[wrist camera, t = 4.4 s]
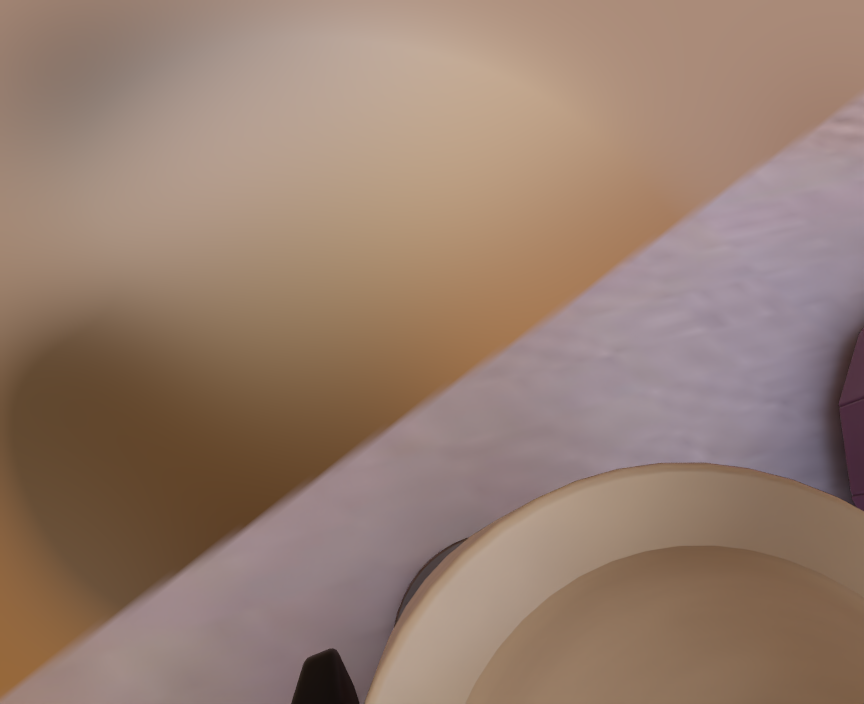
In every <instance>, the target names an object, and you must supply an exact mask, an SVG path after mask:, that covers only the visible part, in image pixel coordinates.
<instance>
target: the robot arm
mask: <svg viewBox="0 0 864 704" xmlns="http://www.w3.org/2000/svg"><path fill="white" fill-rule="evenodd" d="M291 704H359V701H358V697H357V694H356V691H355V688H354V685H353V683H352V681H351V679H350V677H349V674H348V672H347V670H346V668H345V666H344V664H343V662H342V659H341V657H340V655H339V653H338V652H337V650H335V649H333V648H332V649H328V650H325V651H323V652H320V653H318V654H315V655H313V656H310V657H309V658H307V659H306V661H305V662H304V664H303V667H302V670H301V673H300V677H299V680H298V683H297V686H296V690H295V693H294V696H293V700H292V703H291Z"/></svg>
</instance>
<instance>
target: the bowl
mask: <svg viewBox="0 0 864 704" xmlns="http://www.w3.org/2000/svg"><path fill="white" fill-rule="evenodd" d="M838 405H839V407H840V409H839V412H840V420H841V427H842V434H843V441H844V448H845V456H846V463H847V470H848V477H849V485H850V492H851V494H852V495H853V496H852V497H851V498H852V500H853V502H854V504H855V506H856V507H857V508H859V509H861V510H862V511H864V328H863V329H862V331H861V332H860V333H859V336H858V339H857V342H856V346H855V349H854V353H853V356H852V360H851V363H850V367H849V370H848V373H847V377H846V380H845V384H844V387H843V391H842V394H841V397H840V401H839V404H838Z"/></svg>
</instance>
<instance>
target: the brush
mask: <svg viewBox="0 0 864 704" xmlns="http://www.w3.org/2000/svg"><path fill="white" fill-rule="evenodd" d="M364 704H864V511H862V510H861V509H859V508H857V507H855V506H853V505H851V504H849V503H847V502H845V501H844V500H842V499H840V498H838V497H836V496H833V495H831V494H828V493H826V492H823V491H821V490H818V489H815V488H813V487H810V486H808V485H805V484H803V483H800V482H797V481H795V480H792V479H788V478H785V477H781V476H777V475H773V474H769V473H765V472H761V471H757V470H753V469H749V468H743V467H735V466H727V465H719V464H711V463H657V464H650V465H643V466H636V467H629V468H622V469H616V470H612V471H609V472H605V473H602V474H598V475H595V476H592V477H588V478H585V479H581V480H578V481H575V482H572V483H570V484H568V485H566V486H563V487H561V488H559V489H557V490H554V491H552V492H550V493H548V494H545V495H543V496H541V497H539V498H536V499H534V500H533V501H531V502H529V503H527V504H525V505H523V506H522V507H520V508H518V509H516V510H514V511H512V512H511V513H509V514H507V515H505V516H503V517H501V518H500V519H498V520H496V521H495V522H493V523H491V524H490V525H488V526H486V527H485V528H483V529H482V530H480V531H478V532H477V533H475V534H474V535H472V536H471V537H469V538H465V539H463V540H461V541H459V542H456V543H454V544H452V545H450V546H449V547H447V548H445V549H444V550H442V551H441V552H439V553H438V554H437V555H435V556H434V557H433V558H432V559H431V560H429V561H428V562H427V563H426V564H425V565H424V567H423V568H422V569H421V570H420V571H419V572H418V574H417V575H416V576H415V578H414V579H413V580H412V582H411V583H410V585H409V587H408V589H407V591H406V593H405V595H404V597H403V599H402V602H401V605H400V607H399V610H398V613H397V617H396V621H395V625H394V629H393V631H392V633H391V635H390V637H389V639H388V641H387V644H386V647H385V649H384V652H383V654H382V657H381V659H380V662H379V665H378V667H377V670H376V672H375V675H374V678H373V681H372V683H371V686H370V689H369V691H368V694H367V697H366V700H365V702H364Z"/></svg>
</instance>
